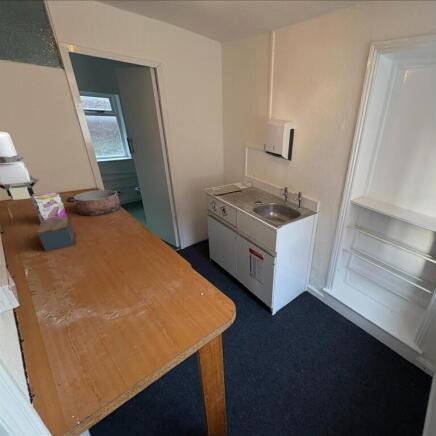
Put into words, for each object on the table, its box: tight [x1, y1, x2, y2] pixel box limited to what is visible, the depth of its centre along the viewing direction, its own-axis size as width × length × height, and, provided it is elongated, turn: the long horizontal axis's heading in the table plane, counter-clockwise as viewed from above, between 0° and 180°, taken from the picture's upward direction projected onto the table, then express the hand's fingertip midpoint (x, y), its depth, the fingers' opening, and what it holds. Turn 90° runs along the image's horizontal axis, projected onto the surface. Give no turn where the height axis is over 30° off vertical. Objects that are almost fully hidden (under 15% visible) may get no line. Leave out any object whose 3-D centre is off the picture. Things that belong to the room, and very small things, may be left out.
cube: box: [9, 184, 32, 201], centre depth 114 cm, size 6×6×6 cm
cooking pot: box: [66, 189, 125, 217], centre depth 155 cm, size 30×22×11 cm
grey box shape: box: [36, 215, 75, 252], centre depth 116 cm, size 10×16×10 cm, turn 39°
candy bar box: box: [30, 192, 68, 223], centre depth 136 cm, size 11×5×16 cm, turn 154°
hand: (22, 196), depth 115 cm, fingers closed on cube, 5 cm apart
